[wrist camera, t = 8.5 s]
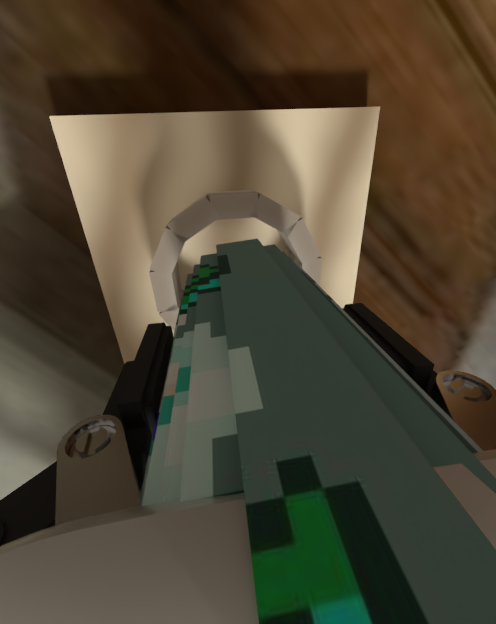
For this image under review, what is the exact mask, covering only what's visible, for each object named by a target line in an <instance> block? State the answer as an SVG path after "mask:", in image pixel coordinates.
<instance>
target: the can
mask: <svg viewBox="0 0 496 624" xmlns="http://www.w3.org/2000/svg"><path fill="white" fill-rule="evenodd" d="M216 250H217V253H215V254H208V255H202V256H201V259H200V264H197V265H194V269H193V273H191V274H188V275H187V280H186V285H185V290H183V294H182V299H181V303H180V308H179V313H178V318H177V322H176V327H175V332H174V339H173V344H172V349H171V354H170V359H169V364H168V368H167V373H166V378H165V383H164V388H163V393H162V398H161V403H160V407H159V412H158V417H157V421H156V422H155V427H154V432H153V436H152V441H151V446H150V451H149V455H148V460H147V465H146V470H145V474H144V479H143V484H142V489H141V497H142V505H141V506H147V505H152V504H158V503H163V502H168V501H174V500H180V502H183V501H190V500H197V499H204V498H210V497H217V496H224V495H231V494H237V493H244V496H245V505H246V513H247V522H248V531H249V540H250V549H251V557H252V566H253V575H254V584H255V593H256V601H257V610H258V619H259V624H496V549H495V548H494V547H493V545H492V544H491V543H490V541H489V540H488V539H487V537H486V536H485V535H484V533H483V532H482V531H481V530H480V528H479V527H478V526H477V524H476V523H475V522H474V520H473V519H472V518H471V516H470V515H469V514H468V513H467V511H466V510H465V509H464V507H463V506H462V505H461V503H460V502H459V501H458V500H457V498H456V497H455V496H454V494H453V493H452V492H451V490H450V489H449V488H448V486H447V485H446V484H445V483H444V481H443V480H442V479H441V477H440V476H439V475H438V473H437V472H436V471H435V469H434V468H433V467H436V466H444V465H453V464H463V465H464V466H465V467H466V468H467V469H468V470H469V471H471V472H472V473H473V474H474V475H475V476H476V477H477V478H479V479H480V480H481V481H482V482H483V483H484V484H485V485H487V486H488V487H489V488H490V489H491V490H492V491H493V492H494V493H496V478H495V477H494V476H493V475H492V474H491V473H490V472H489V471H488V470H487V469H486V468H485V467H484V465H483V464H482V463H481V462H480V461H479V460H478V459H477V458H476V457H475V456H474V455H473V454H472V453H477V452H481V451H483V450H482V449H481V448H480V447H479V446H478V445H477V444H476V443H475V442H474V441H473V440H472V439H471V438H470V437H469V436H468V435H467V434H466V433H465V432H464V431H463V430H462V429H461V428H460V427H459V426H458V425H457V424H456V423H455V422H454V421H453V420H452V419H451V418H450V417H449V416H448V415H447V414H446V413H445V412H444V411H443V410H442V409H441V408H440V407H439V406H438V405H437V404H436V403H435V402H434V401H433V400H432V399H431V398H430V397H429V396H428V395H427V394H426V393H425V392H424V391H423V390H422V389H421V388H420V387H419V386H418V385H417V384H416V383H415V382H414V381H413V380H412V378H411V377H410V376H409V375H408V374H407V373H406V372H405V371H404V370H403V369H402V368H401V367H400V366H399V365H398V364H397V363H396V362H395V361H394V360H393V359H392V358H391V357H390V356H389V355H388V354H387V353H386V352H385V351H384V350H383V349H382V348H381V347H380V346H379V345H378V344H377V343H376V342H375V341H374V340H373V339H372V338H371V337H370V336H369V335H368V334H367V333H366V332H365V331H364V330H363V329H362V328H361V327H360V326H359V325H358V324H357V323H356V322H355V321H354V320H353V319H352V318H351V317H350V316H349V315H348V314H347V313H346V312H345V311H344V310H343V309H342V308H341V307H340V306H339V305H338V304H337V303H336V302H335V301H334V300H333V299H332V298H331V297H330V296H329V295H328V294H327V293H326V292H325V291H324V290H323V289H322V288H321V287H320V286H319V285H318V284H317V283H316V282H315V281H314V280H313V279H312V278H311V277H310V276H309V275H308V274H307V273H306V272H305V271H304V270H303V269H302V268H301V267H300V266H299V265H298V264H297V263H296V262H295V261H294V260H293V259H292V258H289V257H288V256H287V254H286V253H285V252H284V251H281V250H280V249H279V248H278V247H277V246H276V245H275V244H273V245H267V246H263V245H262V244H261V242H260V241H259V240H258V238H257V239H251V240H244V241H237V242H231V243H224V244H218V245H216Z"/></svg>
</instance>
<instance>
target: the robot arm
mask: <svg viewBox="0 0 496 624" xmlns="http://www.w3.org/2000/svg"><path fill="white" fill-rule="evenodd" d="M342 309H343V310H344V311H345V312H346V313H347V314H348V315H349V316H350V317H351V318H352V319H353V320H354V321H355V322H356V323H357V324H358V325H359V326H360V327H361V328H362V329H363V330H364V331H365V332H366V333H367V334H368V335H369V336H370V337H371V338H372V339H373V340H374V341H375V342H376V343H377V344H378V345H379V346H380V347H381V348H382V349H383V350H384V351H385V352H386V353H387V354H388V355H389V356H390V357H391V358H392V359H393V360H394V361H395V362H396V363H397V364H398V365H399V366H400V367H401V368H402V369H403V370H404V371H405V372H406V373H407V374H408V375H409V376H410V377H411V378H412V380H413V381H414V382H415V383H416V384H417V385H418V386H419V387H420V388H421V389H422V390H423V391H424V392H425V393H426V394H427V395H428V396H429V397H430V398H431V399H432V400H433V401H434V402H435V403H436V404H437V405H438V406H439V407H440V408H441V409H442V410H443V411H444V412H445V413H446V414H447V415H448V416H449V417H450V418H451V419H452V420H453V421H454V422H455V423H456V424H457V425H458V426H459V427H460V428H461V429H462V430H463V431H464V432H465V433H466V434H467V435H468V436H469V437H470V438H471V439H472V440H473V441H474V442H475V443H476V444H477V445H478V446H479V447H480V448H481V449H482V450H483V451H481V452H477V453H472V454H473V455H474V456H475V457H476V458H477V459H478V460H479V461H480V462H481V463H482V464H483V465H484V467H485V468H486V469H487V470H488V471H489V472H490V473H491V474H492V475H493V476H494V477H495V478H496V390H495V389H494V388H493V387H492V386H491V385H490V384H489V383H487V382H486V381H484V380H482V379H480V378H478V377H476V376H474V375H471V374H468V373H465V372H460V371H443V372H441V373H439V374H437V373H436V372H435V371H433V367H434V364H433V363H432V362H431V361H430V360H428V359H427V358H426V357H425V356H424V355H422V354H421V353H420V352H419V351H418V350H417V349H415V348H414V347H413V346H412V345H411V344H409V343H408V342H407V341H406V340H405V339H404V338H402V337H401V336H400V335H399V334H398V333H396V332H395V331H394V330H393V329H392V328H391V327H389V326H388V325H387V324H386V323H385V322H383V321H382V320H381V319H380V318H379V317H377V316H376V315H375V314H374V313H373V312H372V311H370V310H369V309H368V308H367V307H366V306H364V305H363V304H362V303H355V304H346V305H345V306H344V308H342ZM173 339H174V337H173V332H172V328H171V326H166V324H165V323H164V322H163V323H153V324H148V326H147V329H146V331H145V334H144V336H143V339H142V341H141V344H140V346H139V349H138V352H137V354H136V357H135V359H134V361H127V362H126V363H125V365H124V367H123V369H122V371H121V374H120V376H119V378H118V381H117V383H116V385H115V388H114V390H113V392H112V394H111V397H110V399H109V401H108V404H107V406H106V408H105V411H104V413H103V415H98V416H94V417H91V418H88V419H86V420H84V421H82V422H80V423H79V424H77V425H76V426H74V427H73V428H72V429H71V430H70V431H69V432H68V433H67V434H66V435H65V436H64V437H63V439H62V440H61V442H60V443H59V447H58V451H57V461H56V462H55V463H53V464H52V465H51V466H49V467H48V468H46V469H45V470H43V471H42V472H41V473H39V474H38V475H36V476H35V477H33V478H32V479H30V480H29V481H28V482H26V483H25V484H23V485H22V486H20V487H19V488H18V489H16V490H15V491H13V492H12V493H10V494H9V495H7V496H6V497H5V498H3V499H2V500H0V624H259V619H258V610H257V601H256V593H255V584H254V575H253V566H252V557H251V549H250V540H249V531H248V522H247V513H246V505H245V496H244V493H237V494H231V495H224V496H217V497H210V498H204V499H197V500H190V501H183V502H180V500H174V501H168V502H163V503H158V504H152V505H147V506H141V505H142V497H141V489H142V484H143V479H144V474H145V470H146V465H147V460H148V455H149V451H150V446H151V441H152V436H153V432H154V427H155V422H156V421H157V417H158V412H159V407H160V403H161V398H162V393H163V388H164V383H165V378H166V373H167V368H168V364H169V359H170V354H171V349H172V344H173ZM433 468H434V469H435V471H436V472H437V473H438V475H439V476H440V477H441V479H442V480H443V481H444V483H445V484H446V485H447V486H448V488H449V489H450V490H451V492H452V493H453V494H454V496H455V497H456V498H457V500H458V501H459V502H460V503H461V505H462V506H463V507H464V509H465V510H466V511H467V513H468V514H469V515H470V516H471V518H472V519H473V520H474V522H475V523H476V524H477V526H478V527H479V528H480V530H481V531H482V532H483V533H484V535H485V536H486V537H487V539H488V540H489V541H490V543H491V544H492V545H493V547H494V548H495V549H496V493H494V492H493V491H492V490H491V489H490V488H489V487H488V486H487V485H485V484H484V483H483V482H482V481H481V480H480V479H479V478H477V477H476V476H475V475H474V474H473V473H472V472H471V471H469V470H468V469H467V468H466V467H465V466H464V465H463V464H453V465H444V466H436V467H433Z"/></svg>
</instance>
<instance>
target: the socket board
mask: <svg viewBox="0 0 496 624" xmlns="http://www.w3.org/2000/svg"><path fill="white" fill-rule="evenodd" d="M379 112H380V107H351V108H316V109H281V110H246V111H211V112H176V113H141V114H105V115H70V116H49V117H50V121H51V124H52V127H53V131H54V134H55V137H56V140H57V144H58V147H59V150H60V154H61V157H62V160H63V163H64V167H65V170H66V173H67V177H68V180H69V183H70V186H71V190H72V193H73V196H74V200H75V203H76V206H77V209H78V213H79V216H80V219H81V223H82V226H83V229H84V233H85V236H86V239H87V242H88V246H89V249H90V252H91V256H92V259H93V262H94V265H95V269H96V272H97V275H98V279H99V282H100V285H101V288H102V292H103V295H104V298H105V302H106V305H107V308H108V311H109V315H110V318H111V321H112V325H113V328H114V331H115V334H116V338H117V341H118V344H119V348H120V351H121V354H122V357H123V361H124V364H125V363H126V362H127V361H134V359H135V357H136V354H137V352H138V349H139V346H140V344H141V341H142V339H143V336H144V334H145V331H146V329H147V326H148V324H153V323H163V322H164V323H165V324H166V326H171V328H172V332H173V337H174V332H175V327H176V322H177V318H178V313H179V308H180V303H181V299H182V294H183V290H185V285H186V280H187V275H188V274H191V273H193V269H194V265H197V264H200V259H201V256H202V255H208V254H215V253H217V250H216V245H218V244H224V243H231V242H237V241H244V240H251V239H257V238H258V240H259V241H260V242H261V244H262V245H263V246H267V245H273V244H275V245H276V246H277V247H278V248H279V249H280V250H281V251H284V252H285V253H286V254H287V256H288V257H289V258H292V259H293V260H294V261H295V262H296V263H297V264H298V265H299V266H300V267H301V268H302V269H303V270H304V271H305V272H306V273H307V274H308V275H309V276H310V277H311V278H312V279H313V280H314V281H315V282H316V283H317V284H318V285H319V286H320V287H321V288H322V289H323V290H324V291H325V292H326V293H327V294H328V295H329V296H330V297H331V298H332V299H333V300H334V301H335V302H336V303H337V304H338V305H339V306H340V307H341V308H344V306H345V305H346V304H353V298H354V291H355V284H356V277H357V270H358V262H359V255H360V248H361V241H362V234H363V226H364V219H365V212H366V205H367V198H368V191H369V183H370V176H371V169H372V162H373V155H374V148H375V140H376V133H377V126H378V119H379Z"/></svg>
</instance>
